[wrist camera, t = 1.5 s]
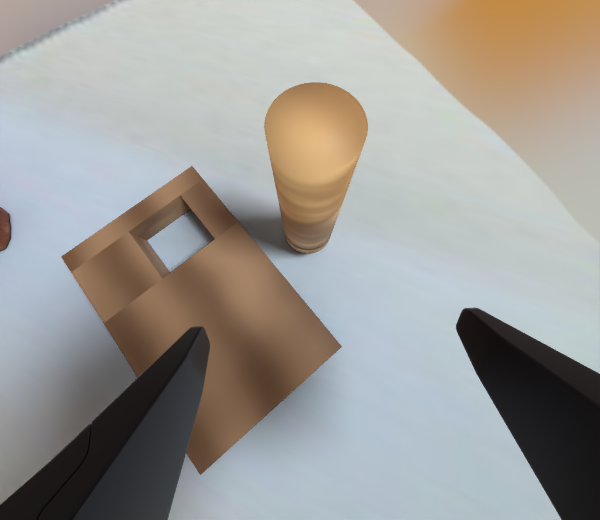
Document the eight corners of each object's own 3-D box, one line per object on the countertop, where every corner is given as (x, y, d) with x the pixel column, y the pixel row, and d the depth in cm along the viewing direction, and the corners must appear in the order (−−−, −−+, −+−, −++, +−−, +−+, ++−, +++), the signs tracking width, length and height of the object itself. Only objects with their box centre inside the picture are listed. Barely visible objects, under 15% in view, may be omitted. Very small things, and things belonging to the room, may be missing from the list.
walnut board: (213, 454, 19) (200, 474, 17) (86, 263, 23) (61, 256, 20) (337, 343, 21) (341, 346, 19) (202, 180, 25) (191, 165, 22)
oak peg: (304, 266, 23) (310, 191, 9) (277, 234, 23) (243, 119, 10) (337, 239, 23) (389, 129, 10) (309, 208, 24) (321, 66, 10)
